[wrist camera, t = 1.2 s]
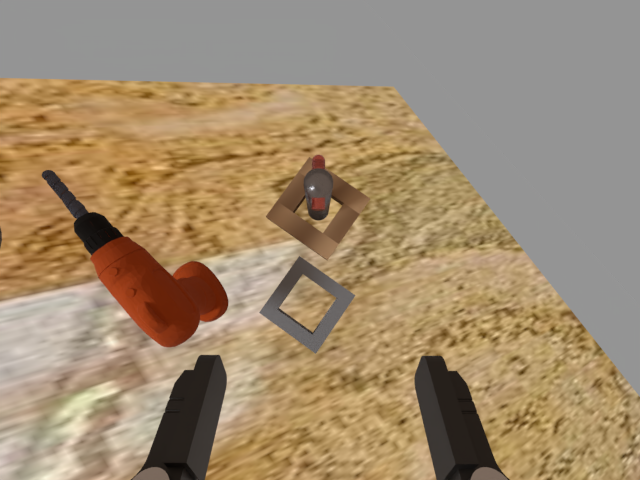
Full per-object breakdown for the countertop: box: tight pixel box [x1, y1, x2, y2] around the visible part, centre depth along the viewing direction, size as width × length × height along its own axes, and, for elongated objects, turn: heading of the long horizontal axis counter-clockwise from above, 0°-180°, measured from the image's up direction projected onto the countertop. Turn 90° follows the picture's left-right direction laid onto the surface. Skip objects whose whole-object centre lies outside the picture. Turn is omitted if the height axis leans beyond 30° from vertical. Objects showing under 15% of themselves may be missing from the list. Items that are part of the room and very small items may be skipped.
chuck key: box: [304, 155, 333, 221], centre depth 34 cm, size 5×3×12 cm, turn 0°
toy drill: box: [42, 170, 228, 347], centre depth 31 cm, size 5×19×15 cm, turn 39°
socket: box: [259, 256, 356, 354], centre depth 38 cm, size 8×8×2 cm
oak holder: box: [266, 157, 370, 260], centre depth 39 cm, size 9×9×2 cm
